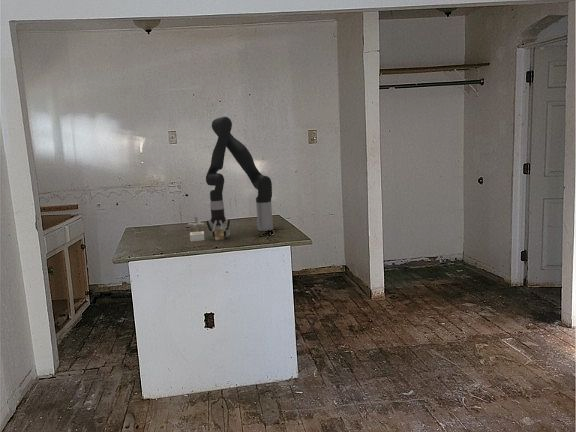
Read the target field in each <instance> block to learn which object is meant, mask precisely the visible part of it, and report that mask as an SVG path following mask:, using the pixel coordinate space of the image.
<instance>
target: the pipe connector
mask: <svg viewBox="0 0 576 432" xmlns="http://www.w3.org/2000/svg"><path fill="white" fill-rule="evenodd" d="M193 219H194V222H188V225H187V226H188V227H192V228H195V232H200V231H199V227H204V226H206V224H205V222H201V221H198V216H197V215H196V216H194V218H193Z"/></svg>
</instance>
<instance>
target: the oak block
mask: <svg viewBox="0 0 576 432" xmlns="http://www.w3.org/2000/svg"><path fill="white" fill-rule="evenodd" d="M214 240H215V241H222V240H225V237H224V230H223V229H221V228H219V229H215V238H214Z"/></svg>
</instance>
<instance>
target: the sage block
mask: <svg viewBox="0 0 576 432" xmlns="http://www.w3.org/2000/svg"><path fill="white" fill-rule="evenodd" d="M226 227H227V226H225V228H226ZM220 229H223V228H222V226H220ZM230 230H231V229H230V227H229V229H228V230H226V236H225V237H224V238H226V237H231V231H230Z"/></svg>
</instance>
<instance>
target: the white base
mask: <svg viewBox="0 0 576 432" xmlns="http://www.w3.org/2000/svg"><path fill="white" fill-rule="evenodd" d="M189 240H190V242H198V241H199V242H200V241H205V231H204V230H202V231H199V232H196V231H192V232H191V231H190V232H189Z"/></svg>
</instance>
